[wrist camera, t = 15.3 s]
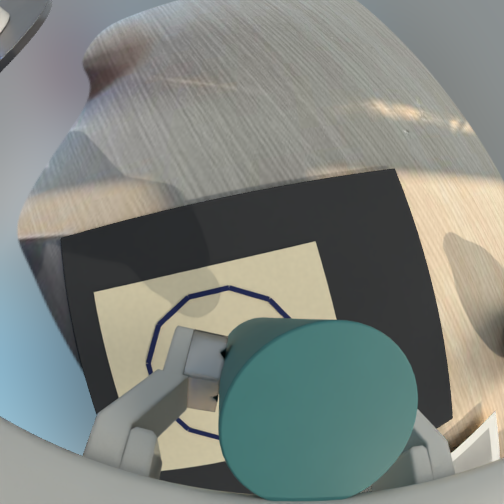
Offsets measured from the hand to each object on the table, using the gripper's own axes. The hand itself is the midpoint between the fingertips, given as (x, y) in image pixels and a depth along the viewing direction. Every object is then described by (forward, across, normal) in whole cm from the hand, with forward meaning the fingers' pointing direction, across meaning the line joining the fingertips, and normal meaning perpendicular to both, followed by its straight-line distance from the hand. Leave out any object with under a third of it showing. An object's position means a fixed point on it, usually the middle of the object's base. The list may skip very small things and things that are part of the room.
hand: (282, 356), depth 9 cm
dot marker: (+3, 0, +4) cm, 5 cm away
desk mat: (+6, -2, +7) cm, 9 cm away
